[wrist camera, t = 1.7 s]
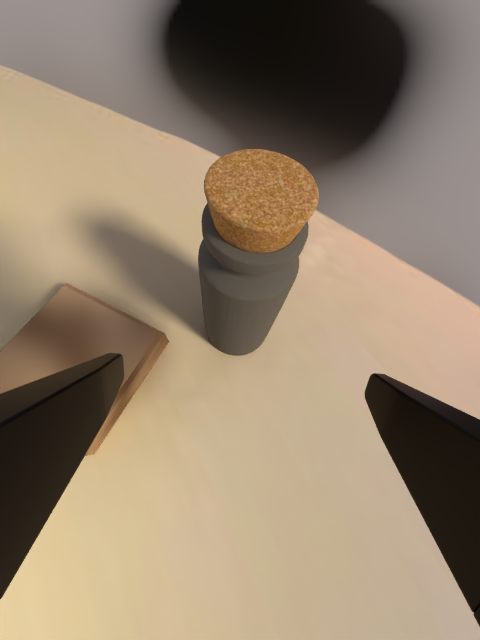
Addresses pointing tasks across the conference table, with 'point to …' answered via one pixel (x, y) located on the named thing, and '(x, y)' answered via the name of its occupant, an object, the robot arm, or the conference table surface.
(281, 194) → the bottle
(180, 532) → the conference table surface
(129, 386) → the plinth
